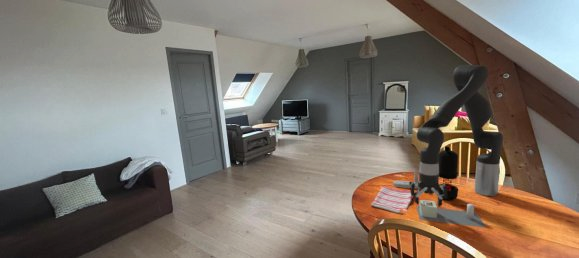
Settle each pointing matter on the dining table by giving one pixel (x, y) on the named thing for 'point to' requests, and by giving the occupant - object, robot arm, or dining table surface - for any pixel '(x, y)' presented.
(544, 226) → the dining table surface
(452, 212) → the board
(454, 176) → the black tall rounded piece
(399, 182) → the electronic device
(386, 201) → the dish towel
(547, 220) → the dining table surface
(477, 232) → the dining table surface
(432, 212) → the collar
